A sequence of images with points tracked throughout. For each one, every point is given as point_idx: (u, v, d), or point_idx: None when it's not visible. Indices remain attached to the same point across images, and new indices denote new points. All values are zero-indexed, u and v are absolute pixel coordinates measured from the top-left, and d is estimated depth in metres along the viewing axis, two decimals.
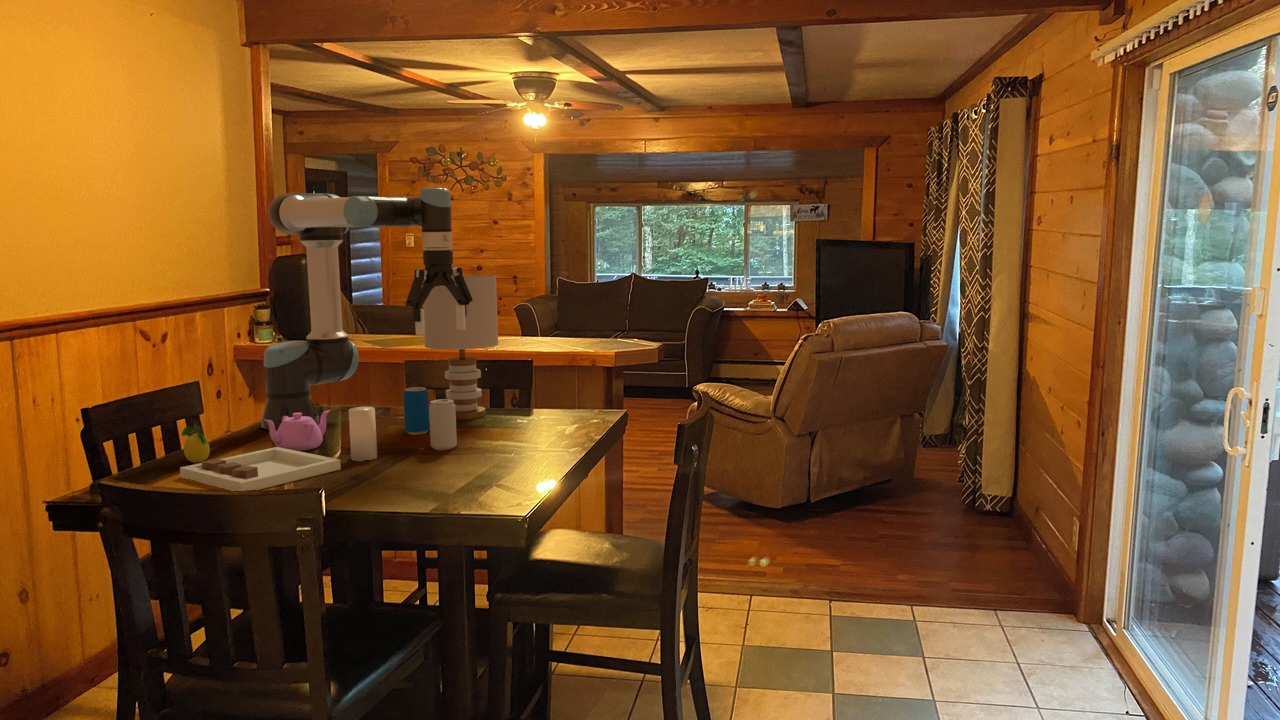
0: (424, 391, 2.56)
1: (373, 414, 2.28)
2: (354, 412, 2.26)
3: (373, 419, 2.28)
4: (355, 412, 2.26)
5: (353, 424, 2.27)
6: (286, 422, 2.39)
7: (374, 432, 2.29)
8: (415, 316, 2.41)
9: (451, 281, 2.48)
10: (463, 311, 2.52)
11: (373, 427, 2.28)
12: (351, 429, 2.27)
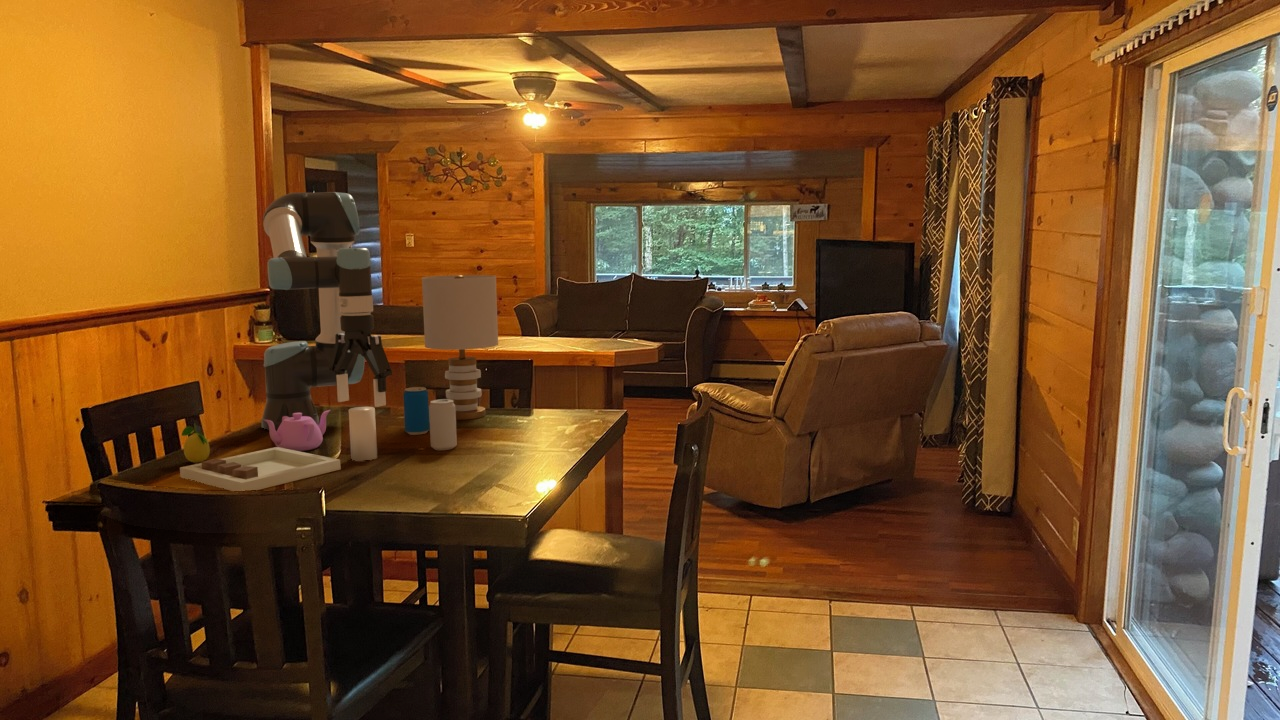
0: (424, 391, 2.56)
1: (373, 414, 2.28)
2: (354, 412, 2.26)
3: (373, 419, 2.28)
4: (355, 412, 2.26)
5: (353, 424, 2.27)
6: (286, 422, 2.39)
7: (374, 432, 2.29)
8: None
9: (359, 350, 2.24)
10: (374, 385, 2.23)
11: (373, 427, 2.28)
12: (351, 429, 2.27)
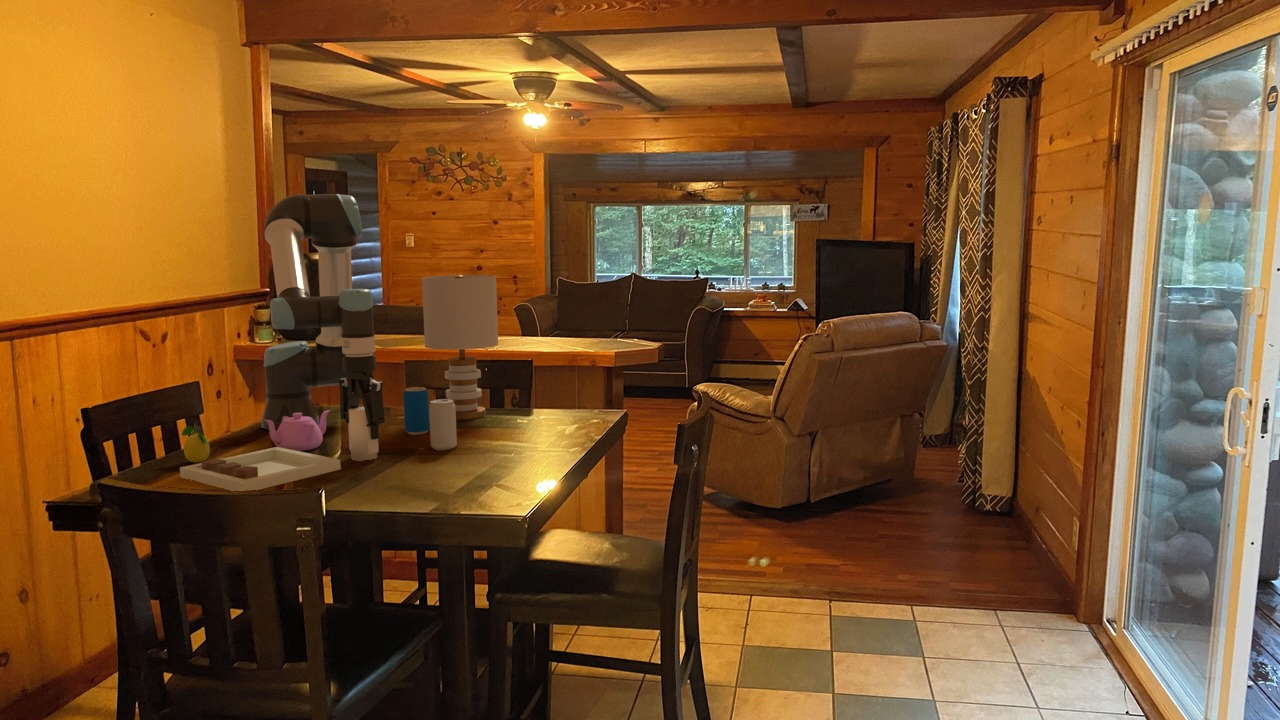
0: (424, 391, 2.56)
1: None
2: (354, 412, 2.26)
3: None
4: (355, 412, 2.26)
5: (353, 424, 2.27)
6: (286, 422, 2.39)
7: None
8: None
9: (359, 392, 2.26)
10: (367, 433, 2.27)
11: None
12: (351, 429, 2.27)
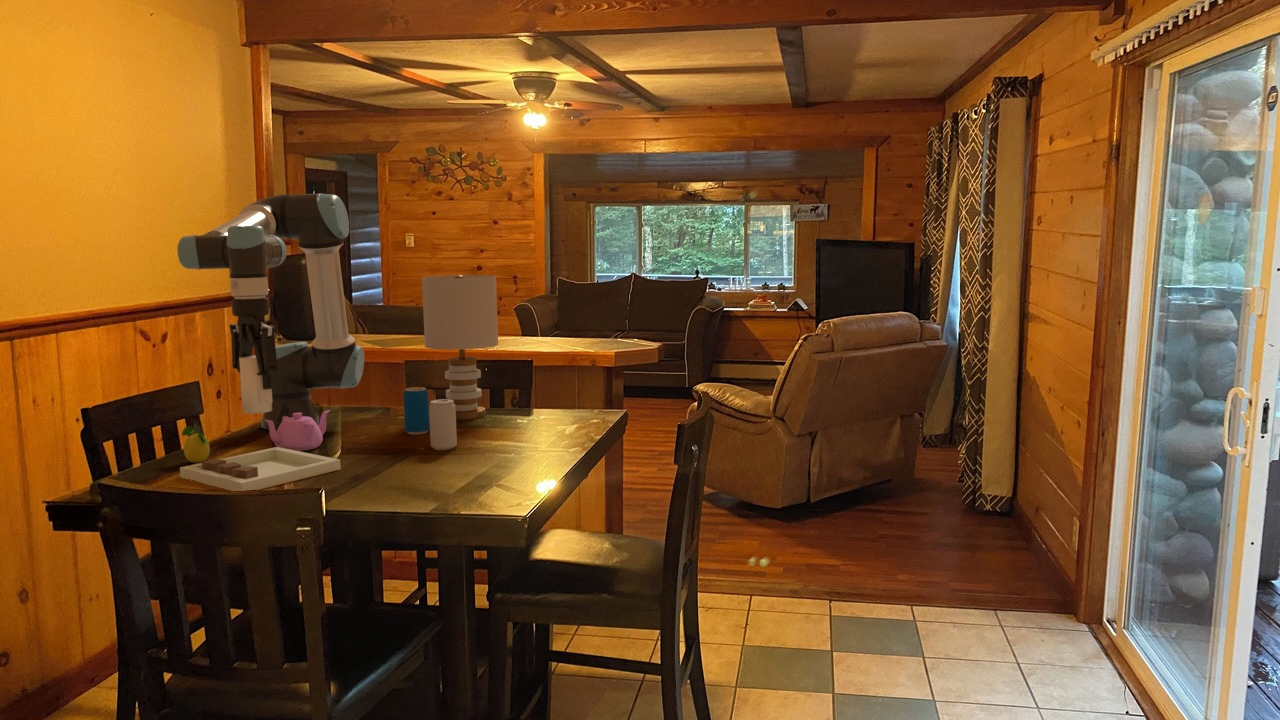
0: (424, 391, 2.56)
1: None
2: (244, 360, 2.08)
3: None
4: (245, 360, 2.08)
5: (244, 373, 2.08)
6: (286, 422, 2.39)
7: None
8: None
9: (250, 338, 2.07)
10: (258, 382, 2.08)
11: None
12: (242, 378, 2.09)
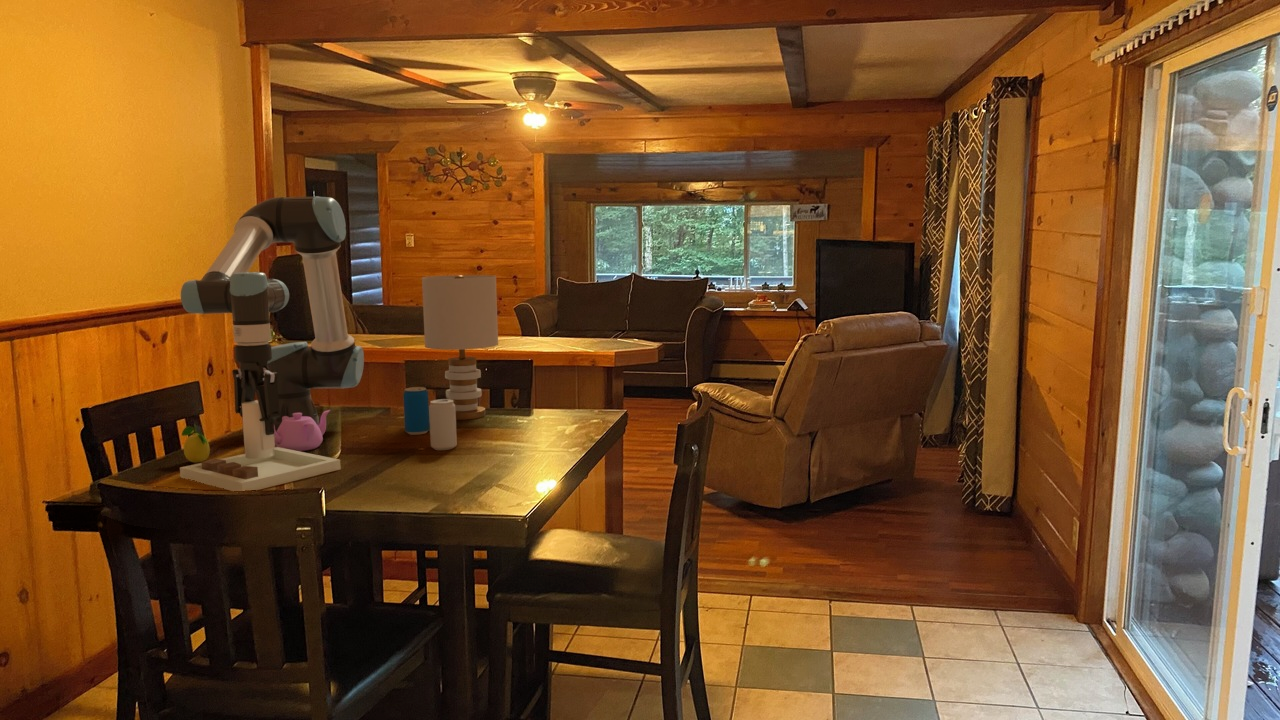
0: (424, 391, 2.56)
1: None
2: (247, 406, 2.09)
3: None
4: (248, 405, 2.09)
5: (246, 418, 2.09)
6: (286, 422, 2.39)
7: None
8: None
9: (253, 384, 2.09)
10: (261, 428, 2.09)
11: None
12: (244, 424, 2.10)
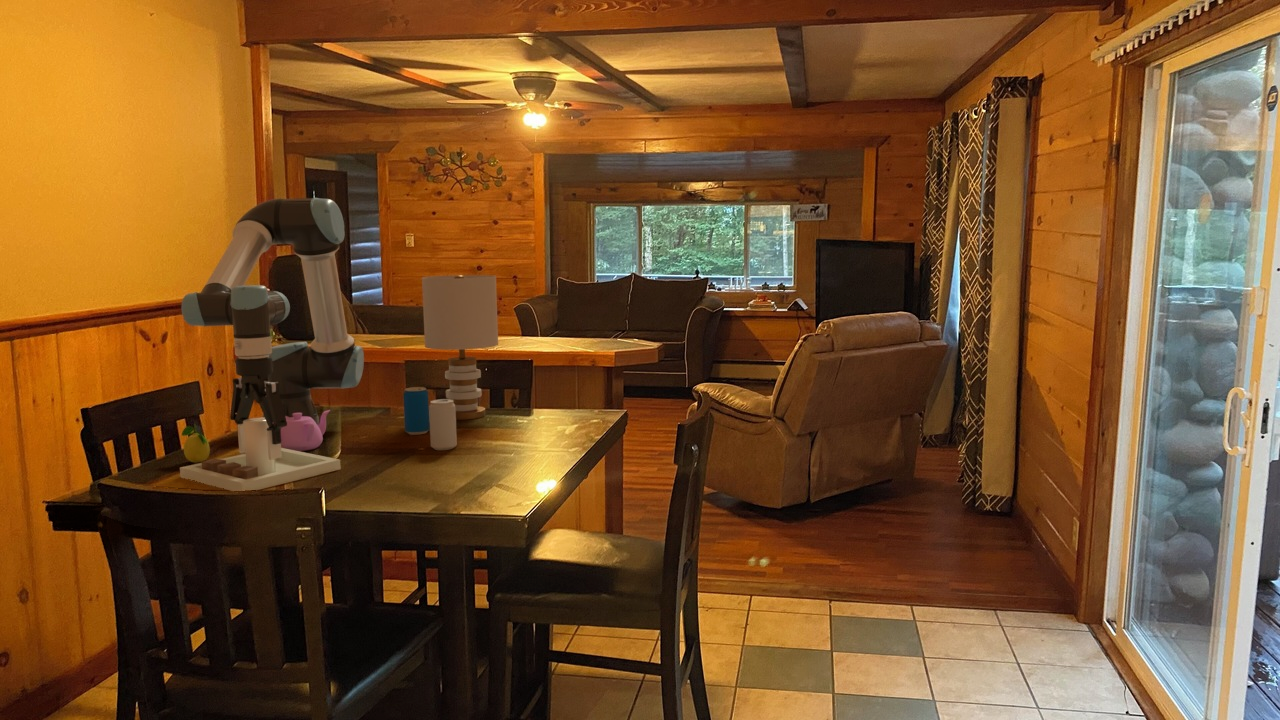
0: (424, 391, 2.56)
1: None
2: (248, 424, 2.10)
3: None
4: (249, 424, 2.09)
5: (247, 436, 2.10)
6: None
7: None
8: None
9: (255, 396, 2.09)
10: (268, 437, 2.08)
11: None
12: (246, 442, 2.11)
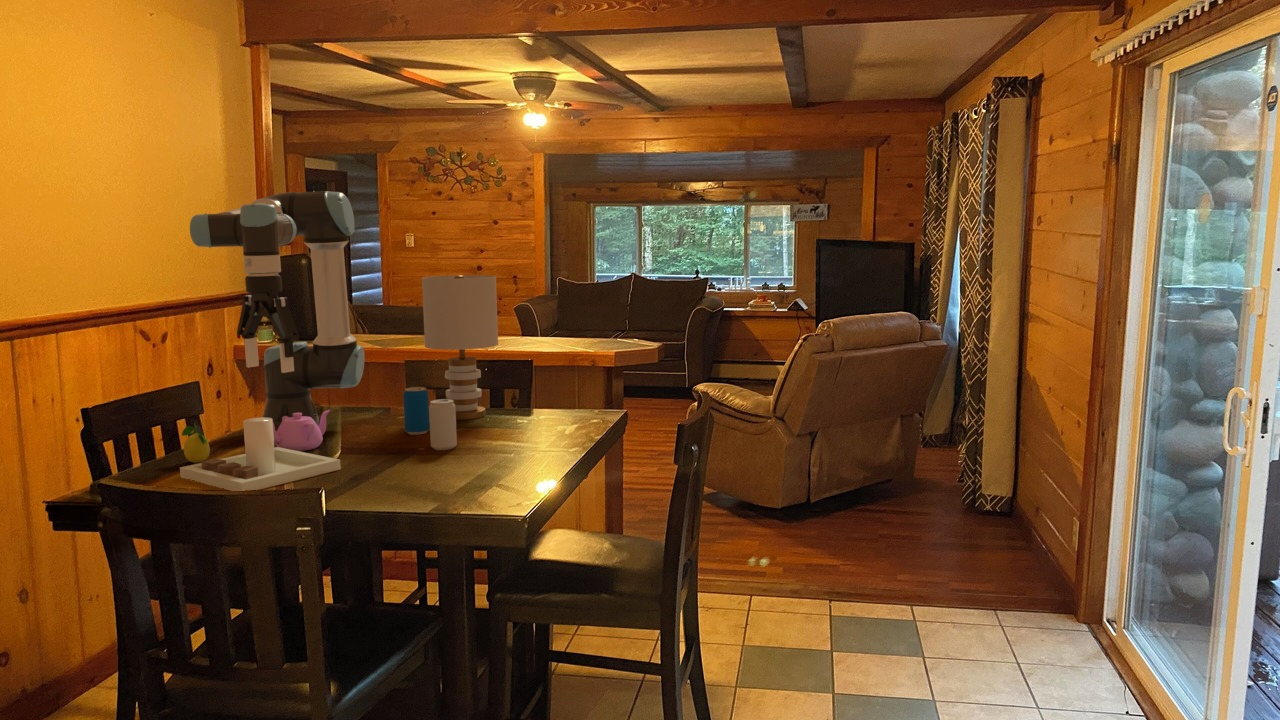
0: (424, 391, 2.56)
1: (270, 425, 2.12)
2: (248, 424, 2.10)
3: (270, 431, 2.12)
4: (249, 424, 2.10)
5: (248, 436, 2.10)
6: (286, 422, 2.39)
7: (271, 445, 2.13)
8: None
9: (265, 313, 2.12)
10: (280, 350, 2.11)
11: (270, 440, 2.12)
12: (246, 442, 2.11)
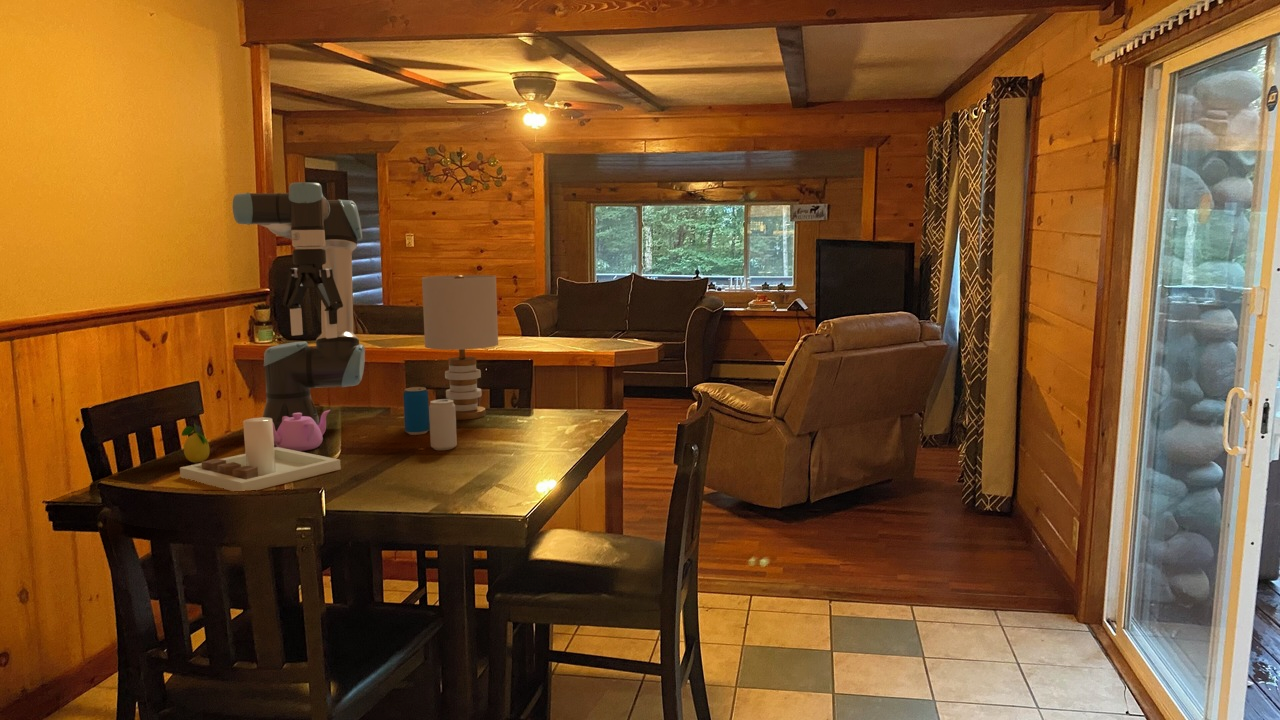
0: (424, 391, 2.56)
1: (270, 425, 2.12)
2: (248, 424, 2.10)
3: (270, 431, 2.12)
4: (249, 424, 2.09)
5: (247, 436, 2.10)
6: (286, 422, 2.39)
7: (271, 445, 2.13)
8: None
9: (311, 283, 2.28)
10: (325, 317, 2.27)
11: (270, 440, 2.12)
12: (246, 442, 2.11)
